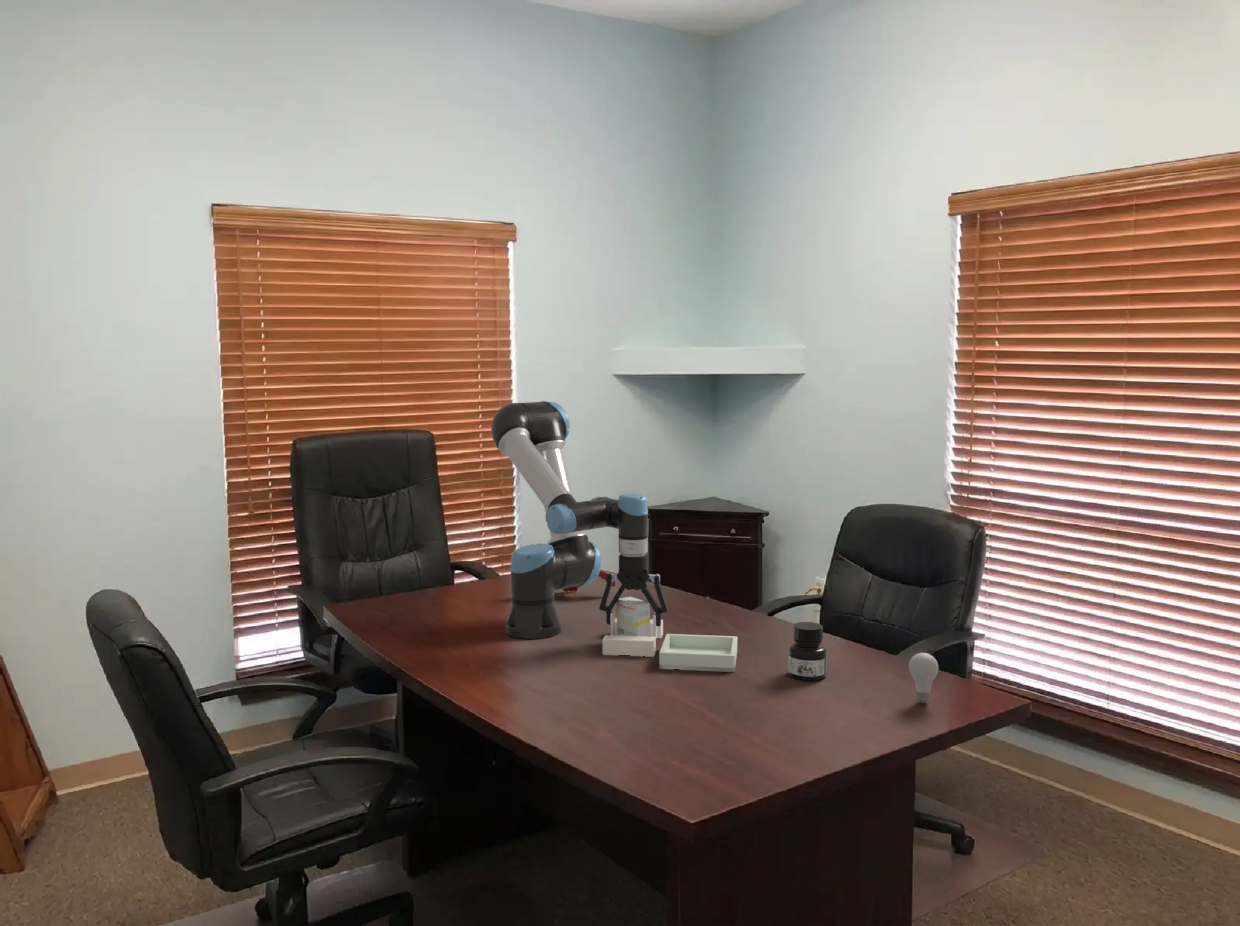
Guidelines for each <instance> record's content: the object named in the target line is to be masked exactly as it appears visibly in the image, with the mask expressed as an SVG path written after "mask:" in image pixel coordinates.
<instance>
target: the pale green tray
mask: <svg viewBox="0 0 1240 926" xmlns="http://www.w3.org/2000/svg"><path fill="white" fill-rule="evenodd" d="M658 653H659V654H658V655H659V657H658V659H659V668H658V669H660V670H674V669H679V670H678V671H680V670H681V671H700V672H724V673H725V672H727V673H735V672H736V664H737V658H738V657H737V656H738V636H737V635H736V636H734V635H733V636H732V635H708V634H706V635H705V634H684V633H683V634H681V633H679V634H678V633H666V635H665V638H664V640H663V642H662V645H661V647H660V650H659V652H658Z"/></svg>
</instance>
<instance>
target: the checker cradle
mask: <svg viewBox="0 0 1240 926" xmlns="http://www.w3.org/2000/svg"><path fill="white" fill-rule="evenodd" d="M650 633H651V636H650V637H648V636H622V635H617V617H615V635H611V634H605V635H604V636H603V638H602V656H619V655H630V656H629V657H643V656H645V658H647V657H649V658H654V657H655V655H656V653H655V652H656V651H657V647H656V646H657V643H656V642H657V641H656V640H657V639H662V637H663V635H664V620H663V619H661V624H660V626H657V638H656V637H653V618H650Z"/></svg>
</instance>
